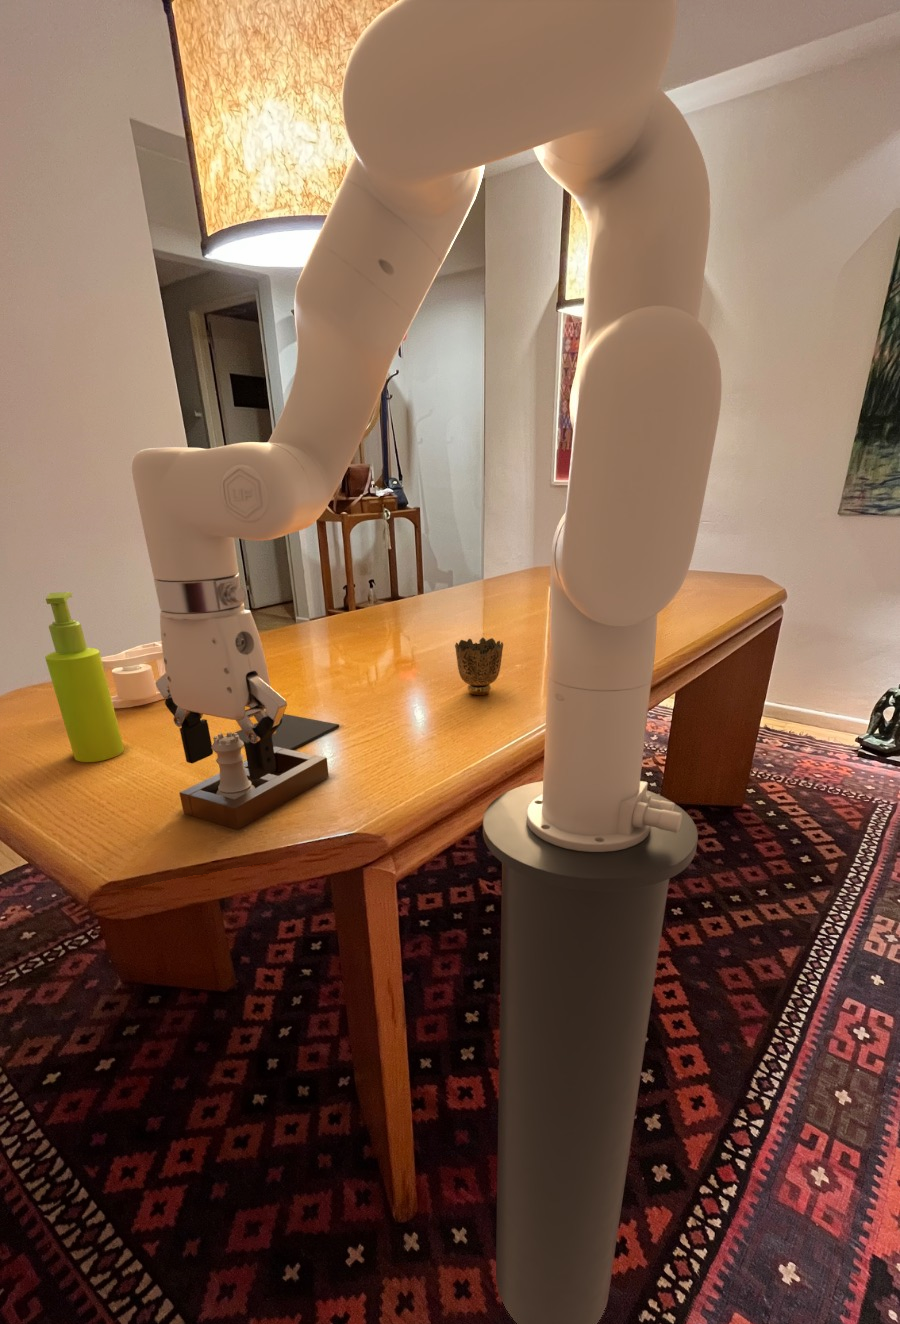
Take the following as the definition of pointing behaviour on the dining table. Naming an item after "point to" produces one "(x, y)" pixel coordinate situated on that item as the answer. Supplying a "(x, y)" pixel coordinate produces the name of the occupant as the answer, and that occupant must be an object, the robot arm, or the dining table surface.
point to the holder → (256, 790)
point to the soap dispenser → (81, 688)
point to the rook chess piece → (231, 766)
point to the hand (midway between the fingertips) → (231, 766)
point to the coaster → (295, 732)
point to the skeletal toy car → (135, 675)
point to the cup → (479, 663)
